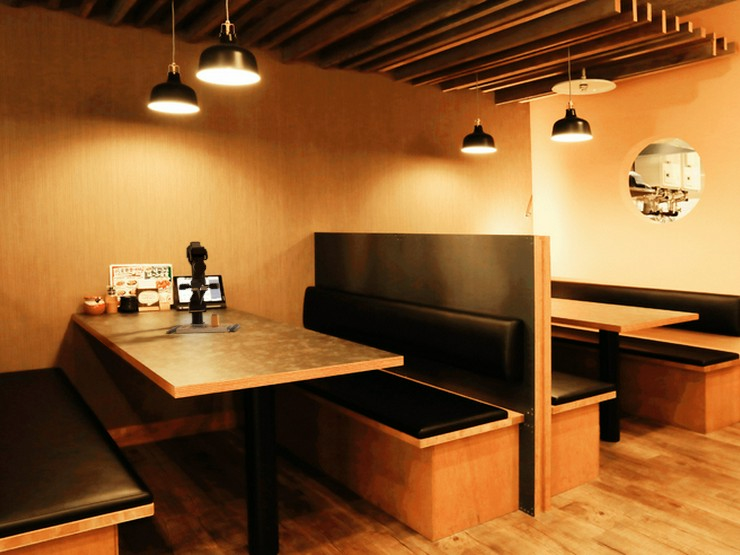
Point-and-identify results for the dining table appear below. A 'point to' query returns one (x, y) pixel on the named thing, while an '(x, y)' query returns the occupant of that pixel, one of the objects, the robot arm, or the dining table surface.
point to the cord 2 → (235, 328)
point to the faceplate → (204, 328)
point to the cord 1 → (173, 329)
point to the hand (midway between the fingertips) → (200, 304)
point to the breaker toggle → (215, 319)
